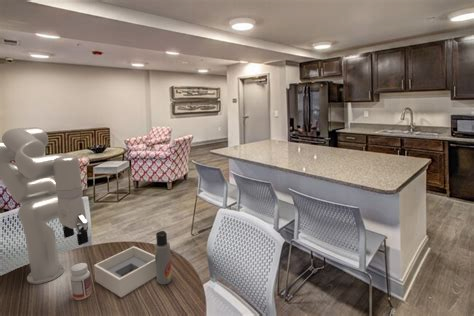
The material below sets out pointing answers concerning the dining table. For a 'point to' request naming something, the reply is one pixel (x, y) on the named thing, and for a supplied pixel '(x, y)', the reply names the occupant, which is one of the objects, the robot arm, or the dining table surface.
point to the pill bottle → (80, 281)
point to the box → (126, 270)
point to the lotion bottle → (163, 258)
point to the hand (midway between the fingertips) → (76, 239)
